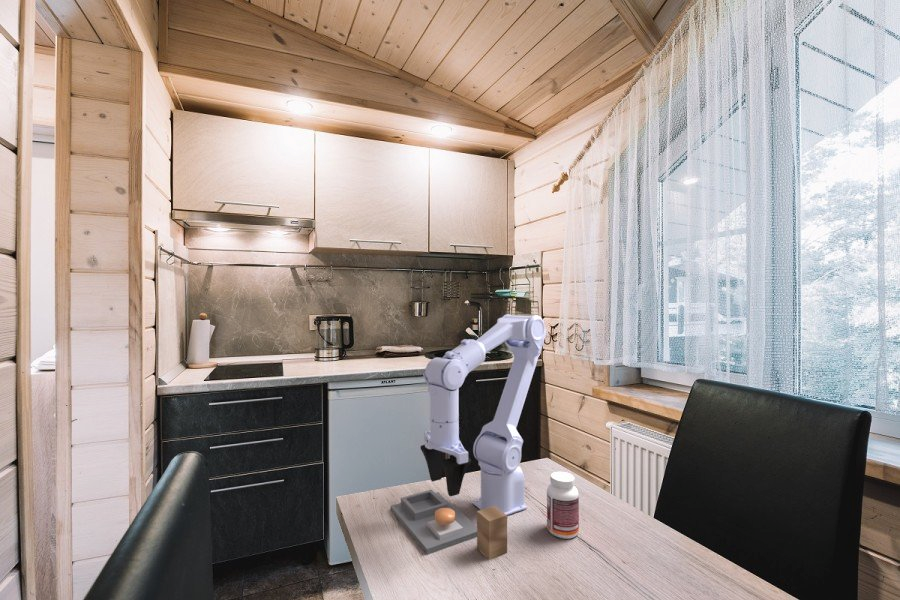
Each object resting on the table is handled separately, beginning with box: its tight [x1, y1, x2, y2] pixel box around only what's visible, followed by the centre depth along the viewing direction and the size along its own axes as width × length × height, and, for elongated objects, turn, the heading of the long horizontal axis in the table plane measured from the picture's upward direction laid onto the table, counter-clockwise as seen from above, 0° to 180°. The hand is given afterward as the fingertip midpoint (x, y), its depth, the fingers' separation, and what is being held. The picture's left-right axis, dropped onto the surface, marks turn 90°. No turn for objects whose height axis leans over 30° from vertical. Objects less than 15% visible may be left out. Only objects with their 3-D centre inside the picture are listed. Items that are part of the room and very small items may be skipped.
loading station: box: [389, 489, 477, 555], centre depth 86 cm, size 12×18×2 cm, turn 30°
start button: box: [435, 508, 455, 525], centre depth 82 cm, size 4×4×1 cm
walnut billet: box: [476, 506, 508, 561], centre depth 76 cm, size 4×4×7 cm
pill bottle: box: [546, 471, 580, 540], centre depth 83 cm, size 6×6×11 cm
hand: (444, 487), depth 82 cm, fingers open, 7 cm apart
